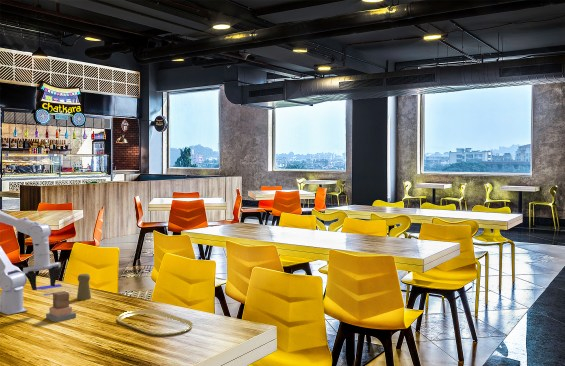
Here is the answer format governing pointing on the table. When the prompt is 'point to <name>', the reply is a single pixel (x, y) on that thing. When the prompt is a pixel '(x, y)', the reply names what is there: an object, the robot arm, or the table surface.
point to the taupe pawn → (83, 287)
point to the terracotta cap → (60, 311)
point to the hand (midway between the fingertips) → (43, 287)
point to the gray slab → (60, 317)
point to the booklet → (48, 287)
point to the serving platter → (156, 314)
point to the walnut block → (60, 300)
